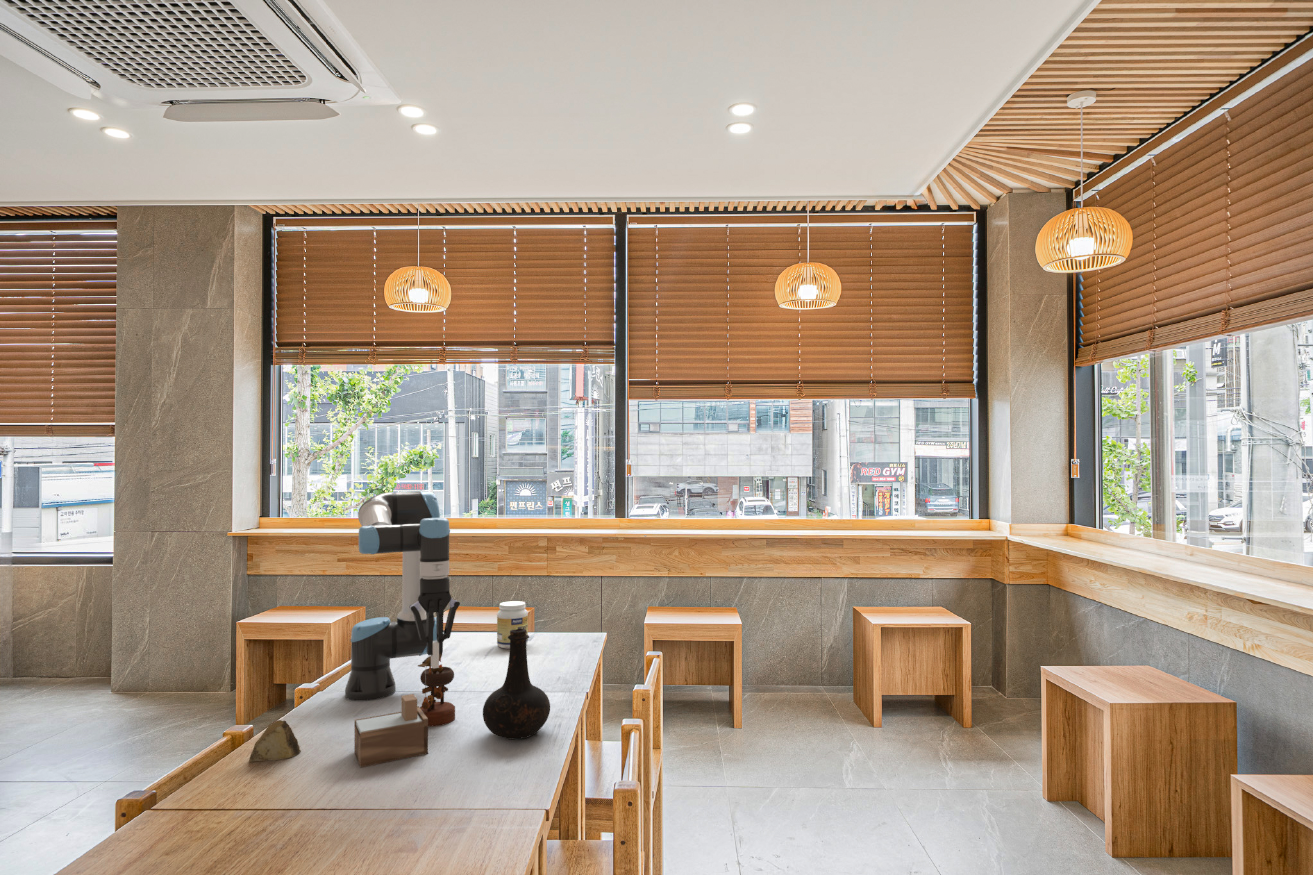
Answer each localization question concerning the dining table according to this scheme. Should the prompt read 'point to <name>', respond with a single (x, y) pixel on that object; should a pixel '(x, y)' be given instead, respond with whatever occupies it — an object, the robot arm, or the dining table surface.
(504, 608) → the supplement tub
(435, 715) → the wooden bird figurine
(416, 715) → the lid
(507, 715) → the glass bottle
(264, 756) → the rock
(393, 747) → the box
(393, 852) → the dining table surface
